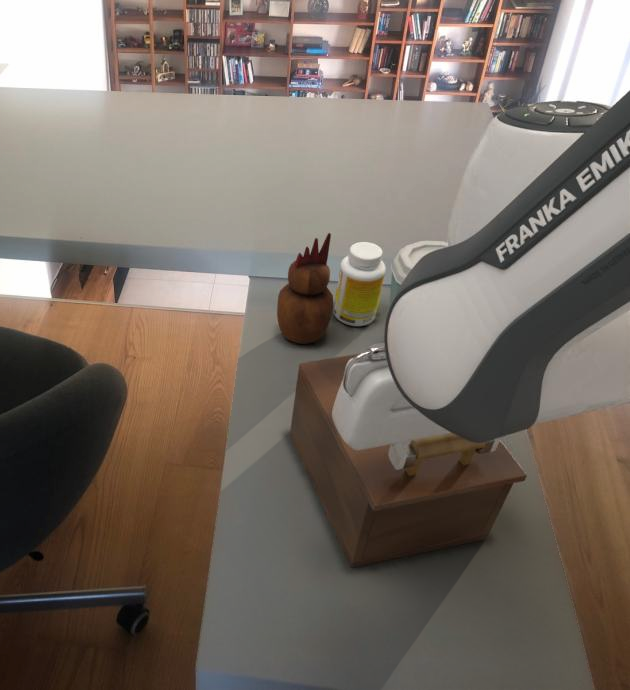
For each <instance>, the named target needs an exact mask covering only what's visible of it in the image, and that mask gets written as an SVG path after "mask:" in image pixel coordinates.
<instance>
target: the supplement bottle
mask: <svg viewBox="0 0 630 690" xmlns="http://www.w3.org/2000/svg"><path fill="white" fill-rule="evenodd" d="M382 249H383V248H381V247H380V246H379V245H377V244H376V243H373V242H369V241H360V242H356V243H354V244H352V245H351V246H350V248H349V251H348V255H347V256H345V257H344V258H343V259H342V260H341V262H340V265H339V266H340V267H339V272H338V279H337V284H336V289H335V290H336V291H335V297H334V302H333V314H334V316H335V318H336V319H337V320H338V321H339V322H341V323H343V324H344V325H348V326H351V327H362V326H367V325H369V324H371V323H373V321H374V320H375V319H376V318H377V317H376V316H377V312H378V307H379V303H380V299H381V294H382V289H383V286H384V285H383V284H384V279H385V275H386V264H385V262H384V261H383V260H382V258H383V250H382Z"/></svg>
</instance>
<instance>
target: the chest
mask: <svg viewBox="0 0 630 690" xmlns="http://www.w3.org/2000/svg"><path fill="white" fill-rule="evenodd" d="M289 437H290V439H291V441H292V443H293V446H294V448H295V450H296V452H297V454H298V457H299V458H300V461H301V463H302V465H303V467H304V470H305V471H306V473H307V476H308V478H309V480H310V482H311V485H312V487H313V489H314V491H315V493H316V495H317V497H318V499H319V502H320V504H321V506H322V508H323V511H324V513H325V515H326V517H327V519H328V521H329V524H330V525H331V528H332V530H333V532H334V534H335V537H336V539H337V540H338V543H339V545H340V547H341V549H342V552H343V553H344V556H345V558H346V560H347V562H348V564H349V567H350V568H357V567H361V566H366V565H370V564H371V565H372V564H376V563H380V562H385V561H390V560H394V559H400V558H403V557H408V556H412V555H417V554H422V553H427V552H432V551H437V550H441V549H445V548H446V549H447V548H451V547H455V546H459V545H464V544H468V543H469V544H470V543H473V542H478V541H482V540H487V539H488V537H489V534H490V533H491V531H492V529H493V527H494V525H495V522H496V520H497V518H498V517H499V514H500V512H501V511H502V508H503V506H504V504H505V502H506V500H507V498H508V496H509V494H510V491H511V489H512V487H513V485H514V483H511V484H507V485H502V486H497V487H492V488H487V489H482V490H477V491H472V492H467V493H462V494H457V495H452V496H447V497H442V498H437V499H432V500H427V501H422V502H418V503H413V504H408V505H403V506H398V507H393V508H388V509H383V510H378V511H373V509H372V507H371V506H370V504H369V502H368V500H367V498H366V496H365V494H364V492H363V490H362V488H361V487H360V485H359V483H358V481H357V479H356V477H355V475H354V473H353V471H352V469H351V468H350V466H349V464H348V462H347V460H346V458H345V456H344V454H343V452H342V450H341V449H340V447H339V445H338V443H337V441H336V439H335V437H334V435H333V433H332V431H331V430H330V428H329V426H328V424H327V422H326V420H325V418H324V416H323V414H322V412H321V411H320V409H319V407H318V405H317V403H316V401H315V399H314V397H313V395H312V393H311V392H310V390H309V388H308V386H307V384H306V382H305V380H304V378H303V376H302V374H301V373H300V371H299V369H298V371H297V378H296V387H295V394H294V401H293V408H292V417H291V423H290V431H289Z"/></svg>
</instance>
